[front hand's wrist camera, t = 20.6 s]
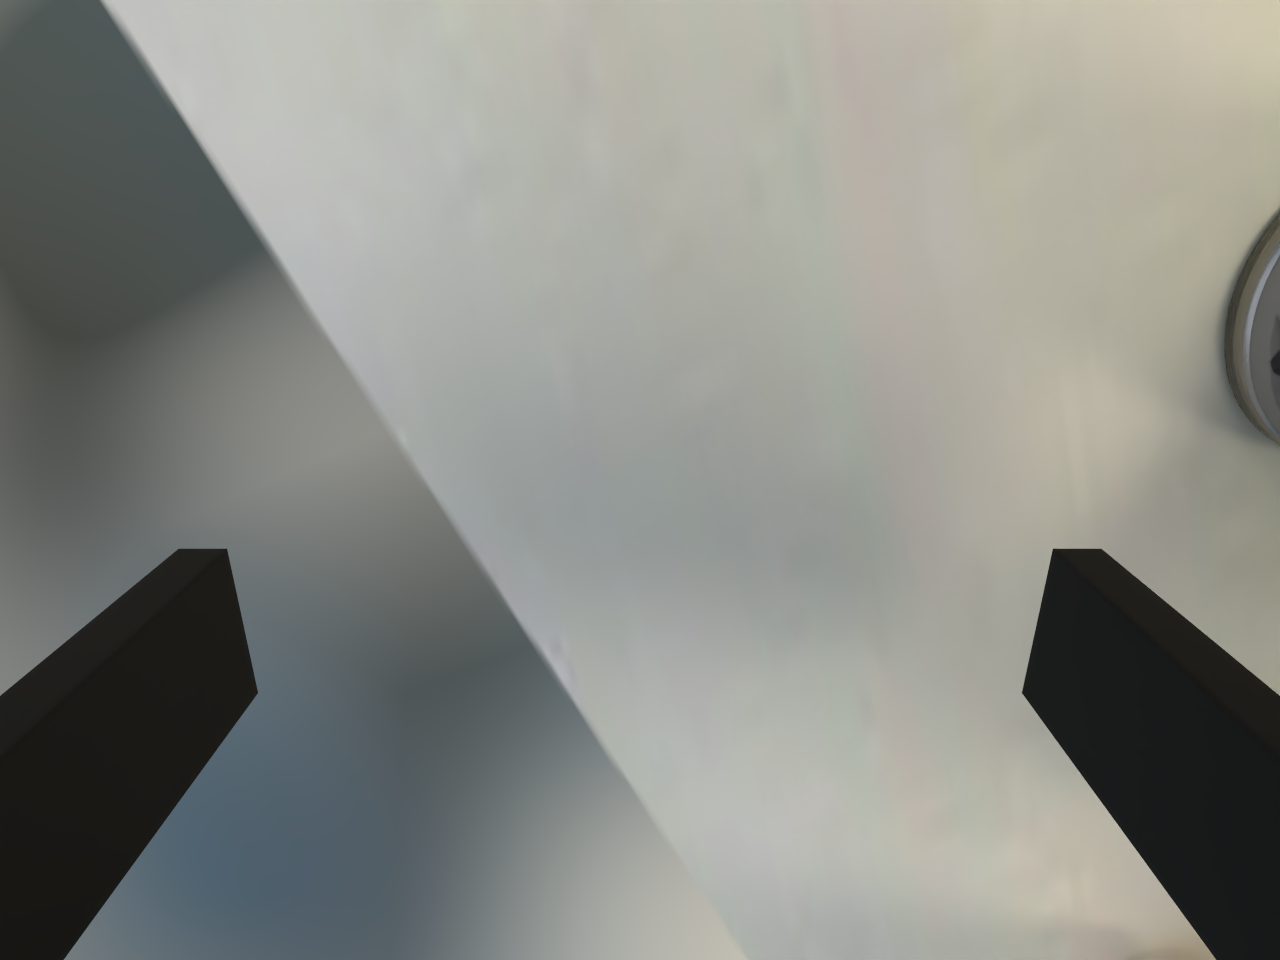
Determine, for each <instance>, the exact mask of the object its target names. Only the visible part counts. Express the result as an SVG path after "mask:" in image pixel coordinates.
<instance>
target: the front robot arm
mask: <svg viewBox="0 0 1280 960" xmlns="http://www.w3.org/2000/svg"><path fill="white" fill-rule="evenodd" d="M1225 360H1226V368H1227V374H1228V378H1229V382H1230V385H1231V388H1232V390H1233V393H1234V396H1235V398H1236V400H1237V402H1238V403H1239V405H1240V407H1241V409H1242V410H1243V412H1244V413H1245V415H1246V416H1247V417H1248V419H1249V420H1250V421H1251V422H1252V423H1253V424H1254V425H1255V426H1256V427H1257V428H1258V429H1259V430H1260V431H1261V432H1262V433H1264V434H1265V435H1266V436H1267V437H1269V438H1270V439H1272V440H1274V441H1275V442H1277V443H1278V444H1280V214H1279V215H1278V216H1277V218H1276V219H1275V220H1274V221H1273V223H1272V224H1271V225H1270V226H1269V228H1268V229H1267V231H1266V232H1265V233H1264V235H1263V236H1262V238H1261V239H1260V241H1259V242H1258V244H1257V245H1256V247H1255V249H1254V251H1253V252H1252V254H1251V256H1250V257H1249V259H1248V261H1247V263H1246V265H1245V267H1244V269H1243V271H1242V274H1241V276H1240V278H1239V281H1238V283H1237V286H1236V289H1235V291H1234V294H1233V298H1232V301H1231V305H1230V308H1229V313H1228V318H1227V323H1226V332H1225ZM257 693H258V691H257V686H256V682H255V677H254V672H253V668H252V663H251V658H250V654H249V649H248V645H247V640H246V635H245V631H244V626H243V621H242V617H241V612H240V607H239V603H238V598H237V593H236V589H235V584H234V579H233V575H232V570H231V565H230V561H229V556H228V552H227V549H178V550H177V551H176V552H174V553H173V554H172V555H171V556H169V557H168V558H167V559H166V560H165V561H163V562H162V563H161V564H160V565H159V566H157V567H156V568H155V569H154V570H152V571H151V572H150V573H149V574H148V575H146V576H145V577H144V578H143V579H142V580H140V581H139V582H138V583H137V584H136V585H134V586H133V587H132V588H131V589H129V590H128V591H127V592H126V593H125V594H123V595H122V596H121V597H120V598H119V599H117V600H116V601H115V602H114V603H112V604H111V605H110V606H109V607H108V608H106V609H105V610H104V611H103V612H102V613H100V614H99V615H98V616H97V617H95V618H94V619H93V620H92V621H91V622H89V623H88V624H87V625H86V626H85V627H83V628H82V629H81V630H80V631H78V632H77V633H76V634H75V635H74V636H72V637H71V638H70V639H69V640H68V641H66V642H65V643H64V644H63V645H62V646H60V647H59V648H58V649H57V650H55V651H54V652H53V653H52V654H51V655H49V656H48V657H47V658H46V659H45V660H43V661H42V662H41V663H40V664H38V665H37V666H36V667H35V668H34V669H32V670H31V671H30V672H29V673H28V674H26V675H25V676H24V677H23V678H21V679H20V680H19V681H18V682H17V683H15V684H14V685H13V686H12V687H11V688H9V689H8V690H7V691H6V692H5V693H3V694H2V695H1V696H0V960H64V958H65V957H66V956H67V954H68V953H69V951H70V950H71V949H72V947H73V946H74V945H75V943H76V942H77V941H78V939H79V938H80V936H81V935H82V934H83V932H84V931H85V930H86V928H87V927H88V925H89V924H90V923H91V921H92V920H93V919H94V917H95V916H96V914H97V913H98V912H99V910H100V909H101V908H102V906H103V905H104V904H105V902H106V901H107V899H108V898H109V897H110V895H111V894H112V893H113V891H114V890H115V888H116V887H117V886H118V884H119V883H120V882H121V880H122V879H123V877H124V876H125V875H126V873H127V872H128V871H129V869H130V868H131V866H132V865H133V864H134V862H135V861H136V860H137V858H138V857H139V855H140V854H141V853H142V851H143V850H144V848H145V847H146V846H147V844H148V843H149V842H150V840H151V839H152V838H153V836H154V835H155V833H156V832H157V831H158V829H159V828H160V827H161V825H162V824H163V823H164V821H165V820H166V818H167V817H168V816H169V814H170V813H171V811H172V810H173V809H174V807H175V806H176V805H177V803H178V802H179V801H180V799H181V798H182V796H183V795H184V794H185V792H186V791H187V790H188V788H189V787H190V785H191V784H192V783H193V781H194V780H195V779H196V777H197V776H198V775H199V773H200V772H201V770H202V769H203V768H204V766H205V765H206V763H207V762H208V761H209V759H210V758H211V757H212V755H213V754H214V753H215V751H216V750H217V748H218V747H219V746H220V744H221V743H222V742H223V740H224V739H225V737H226V736H227V735H228V733H229V732H230V731H231V729H232V728H233V726H234V725H235V724H236V722H237V721H238V720H239V718H240V717H241V716H242V714H243V713H244V711H245V710H246V709H247V707H248V706H249V705H250V703H251V702H252V700H253V699H254V698H255V696H256V695H257ZM1022 694H1023V695H1024V696H1025V698H1026V699H1027V700H1028V702H1029V703H1030V705H1031V706H1032V707H1033V709H1034V710H1035V711H1036V713H1037V714H1038V716H1039V717H1040V718H1041V720H1042V721H1043V722H1044V724H1045V725H1046V726H1047V728H1048V729H1049V731H1050V732H1051V733H1052V735H1053V736H1054V737H1055V739H1056V740H1057V742H1058V743H1059V744H1060V746H1061V747H1062V748H1063V750H1064V751H1065V753H1066V754H1067V755H1068V757H1069V758H1070V759H1071V761H1072V762H1073V764H1074V765H1075V766H1076V768H1077V769H1078V770H1079V772H1080V773H1081V775H1082V776H1083V777H1084V779H1085V780H1086V781H1087V783H1088V784H1089V785H1090V787H1091V788H1092V790H1093V791H1094V792H1095V794H1096V795H1097V796H1098V798H1099V799H1100V801H1101V802H1102V803H1103V805H1104V806H1105V807H1106V809H1107V810H1108V812H1109V813H1110V814H1111V816H1112V817H1113V818H1114V820H1115V821H1116V823H1117V824H1118V825H1119V827H1120V828H1121V829H1122V831H1123V832H1124V834H1125V835H1126V836H1127V838H1128V839H1129V840H1130V842H1131V843H1132V844H1133V846H1134V847H1135V849H1136V850H1137V851H1138V853H1139V854H1140V855H1141V857H1142V858H1143V860H1144V861H1145V862H1146V864H1147V865H1148V866H1149V868H1150V869H1151V871H1152V872H1153V873H1154V875H1155V876H1156V877H1157V879H1158V880H1159V882H1160V883H1161V884H1162V886H1163V887H1164V888H1165V890H1166V891H1167V893H1168V894H1169V895H1170V897H1171V898H1172V899H1173V901H1174V902H1175V904H1176V905H1177V906H1178V908H1179V909H1180V910H1181V912H1182V913H1183V914H1184V916H1185V917H1186V919H1187V920H1188V921H1189V923H1190V924H1191V925H1192V927H1193V928H1194V930H1195V931H1196V932H1197V934H1198V935H1199V936H1200V938H1201V939H1202V941H1203V942H1204V943H1205V945H1206V946H1207V947H1208V949H1209V950H1210V952H1211V953H1212V954H1213V956H1214V957H1215V958H1216V960H1280V696H1279V695H1278V694H1277V693H1276V692H1274V691H1273V690H1272V689H1271V688H1269V687H1268V686H1267V685H1266V684H1265V683H1263V682H1262V681H1261V680H1260V679H1259V678H1257V677H1256V676H1255V675H1254V674H1252V673H1251V672H1250V671H1249V670H1248V669H1246V668H1245V667H1244V666H1243V665H1242V664H1240V663H1239V662H1238V661H1237V660H1236V659H1234V658H1233V657H1232V656H1231V655H1229V654H1228V653H1227V652H1226V651H1225V650H1223V649H1222V648H1221V647H1220V646H1219V645H1217V644H1216V643H1215V642H1214V641H1212V640H1211V639H1210V638H1209V637H1208V636H1206V635H1205V634H1204V633H1203V632H1202V631H1200V630H1199V629H1198V628H1197V627H1195V626H1194V625H1193V624H1192V623H1191V622H1189V621H1188V620H1187V619H1186V618H1185V617H1183V616H1182V615H1181V614H1180V613H1178V612H1177V611H1176V610H1175V609H1174V608H1172V607H1171V606H1170V605H1169V604H1168V603H1166V602H1165V601H1164V600H1163V599H1161V598H1160V597H1159V596H1158V595H1157V594H1155V593H1154V592H1153V591H1152V590H1151V589H1149V588H1148V587H1147V586H1146V585H1145V584H1143V583H1142V582H1141V581H1140V580H1138V579H1137V578H1136V577H1135V576H1134V575H1132V574H1131V573H1130V572H1129V571H1128V570H1126V569H1125V568H1124V567H1123V566H1121V565H1120V564H1119V563H1118V562H1117V561H1115V560H1114V559H1113V558H1112V557H1111V556H1109V555H1108V554H1107V553H1106V552H1104V551H1103V550H1102V549H1053V552H1052V556H1051V561H1050V565H1049V570H1048V575H1047V579H1046V584H1045V589H1044V593H1043V598H1042V603H1041V607H1040V612H1039V617H1038V621H1037V626H1036V631H1035V635H1034V640H1033V644H1032V649H1031V654H1030V658H1029V663H1028V668H1027V672H1026V677H1025V682H1024V686H1023V691H1022Z"/></svg>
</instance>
